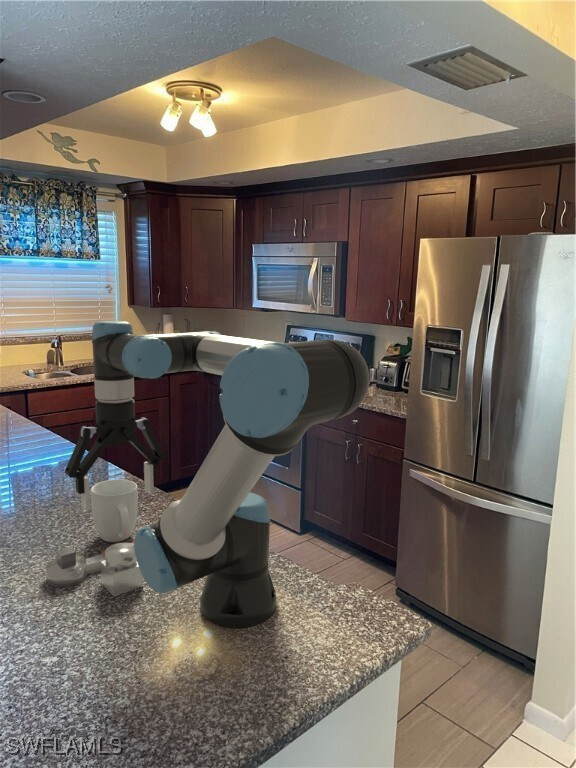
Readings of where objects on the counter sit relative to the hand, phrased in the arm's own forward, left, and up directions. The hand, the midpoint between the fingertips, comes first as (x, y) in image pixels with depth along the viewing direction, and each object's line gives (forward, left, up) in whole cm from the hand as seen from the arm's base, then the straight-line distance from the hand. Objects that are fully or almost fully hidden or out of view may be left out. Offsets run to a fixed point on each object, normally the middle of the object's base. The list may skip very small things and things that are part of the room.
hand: (118, 500), depth 115 cm
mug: (+20, -8, -19) cm, 29 cm away
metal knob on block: (-1, 0, -19) cm, 19 cm away
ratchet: (+9, +1, -19) cm, 21 cm away
